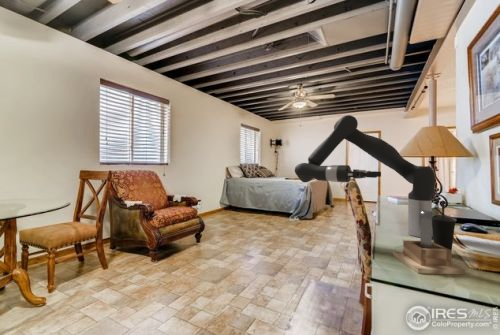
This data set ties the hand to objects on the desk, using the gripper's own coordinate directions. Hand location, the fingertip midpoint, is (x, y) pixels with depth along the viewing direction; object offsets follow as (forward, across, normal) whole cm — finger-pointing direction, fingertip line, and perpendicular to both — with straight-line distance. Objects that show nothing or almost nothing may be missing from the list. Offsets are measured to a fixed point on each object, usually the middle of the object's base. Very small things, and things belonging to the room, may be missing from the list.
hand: (379, 174), depth 95 cm
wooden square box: (+15, -7, +30) cm, 35 cm away
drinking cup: (+20, +8, +30) cm, 37 cm away
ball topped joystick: (+15, -7, +28) cm, 33 cm away
